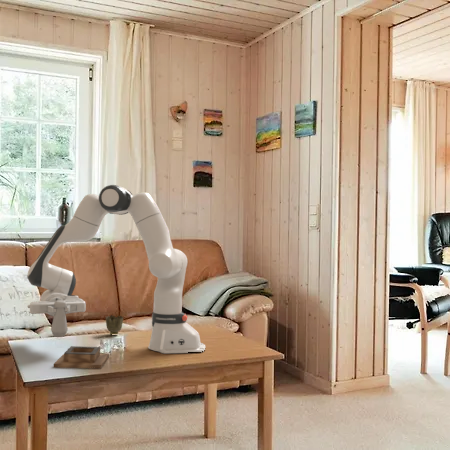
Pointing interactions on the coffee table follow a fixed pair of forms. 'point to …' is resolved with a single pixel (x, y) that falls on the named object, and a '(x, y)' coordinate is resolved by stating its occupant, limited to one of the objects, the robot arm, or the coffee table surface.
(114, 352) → the coffee table surface
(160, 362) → the coffee table surface
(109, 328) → the cup
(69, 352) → the stepped wooden plinth
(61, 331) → the salt shaker
